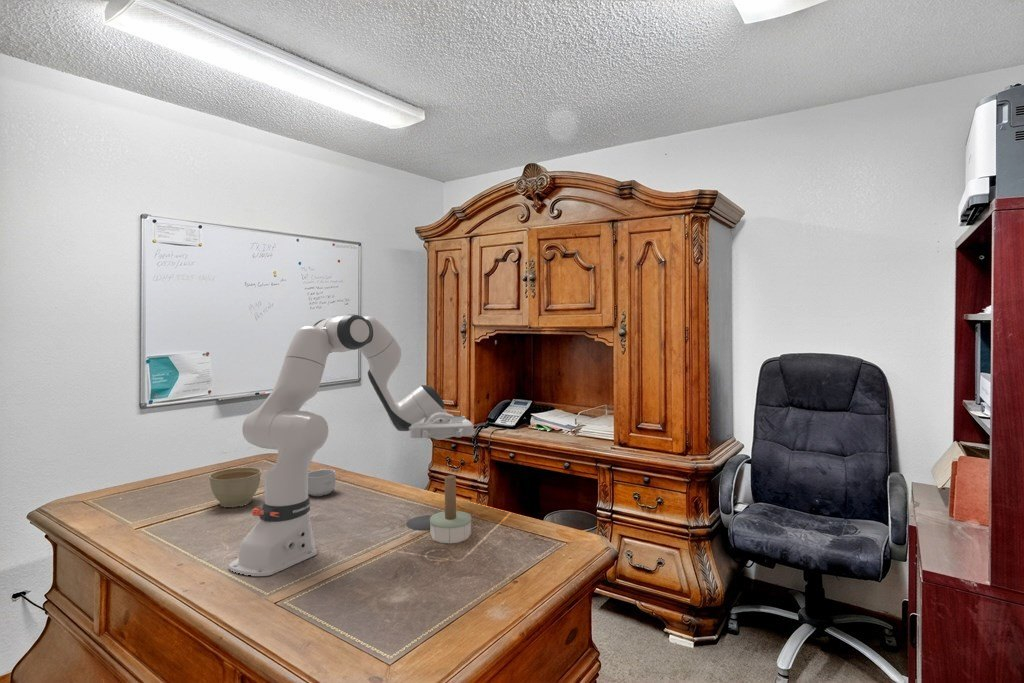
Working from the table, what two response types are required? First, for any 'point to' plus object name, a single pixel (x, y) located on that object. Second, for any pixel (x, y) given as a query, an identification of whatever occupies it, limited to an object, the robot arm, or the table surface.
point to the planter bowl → (235, 485)
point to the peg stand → (450, 509)
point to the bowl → (450, 534)
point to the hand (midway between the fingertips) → (444, 435)
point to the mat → (419, 523)
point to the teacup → (321, 482)
